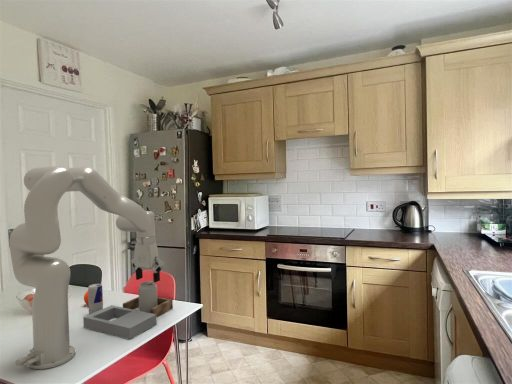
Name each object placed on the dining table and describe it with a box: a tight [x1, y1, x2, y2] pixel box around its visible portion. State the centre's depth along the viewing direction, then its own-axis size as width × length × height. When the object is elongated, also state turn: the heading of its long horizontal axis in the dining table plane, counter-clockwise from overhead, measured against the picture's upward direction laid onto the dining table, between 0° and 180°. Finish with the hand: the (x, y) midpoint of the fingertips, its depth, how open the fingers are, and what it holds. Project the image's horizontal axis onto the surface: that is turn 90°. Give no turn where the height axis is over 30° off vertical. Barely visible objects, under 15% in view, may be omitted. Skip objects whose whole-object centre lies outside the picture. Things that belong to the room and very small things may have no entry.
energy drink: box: [87, 283, 104, 315], centre depth 137 cm, size 5×5×12 cm
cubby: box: [122, 296, 174, 318], centre depth 140 cm, size 12×16×4 cm
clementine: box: [83, 290, 89, 306], centre depth 148 cm, size 8×7×7 cm
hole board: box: [82, 305, 158, 340], centre depth 125 cm, size 13×24×4 cm, turn 65°
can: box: [138, 280, 158, 313], centre depth 140 cm, size 8×8×12 cm
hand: (148, 280), depth 140 cm, fingers open, 9 cm apart
